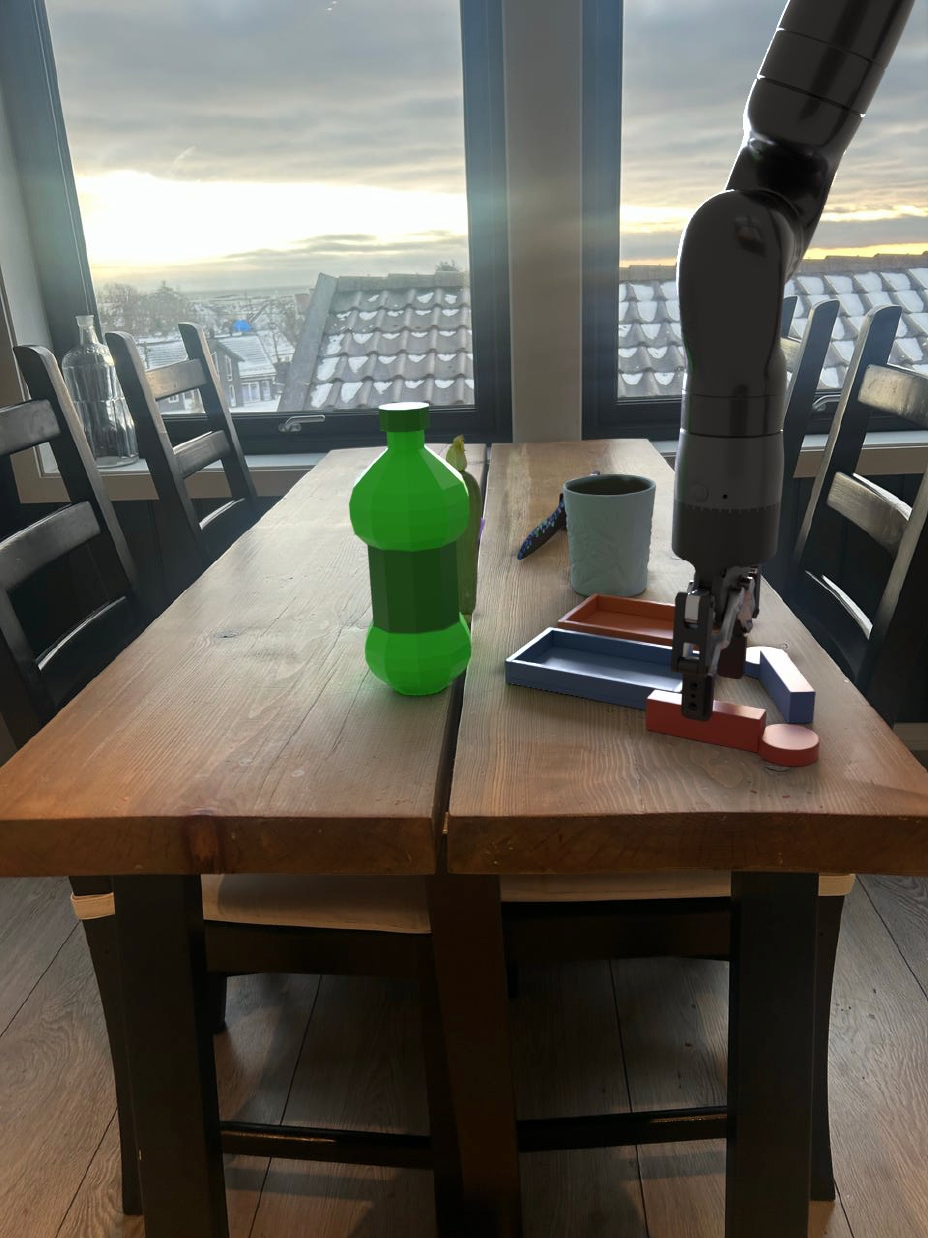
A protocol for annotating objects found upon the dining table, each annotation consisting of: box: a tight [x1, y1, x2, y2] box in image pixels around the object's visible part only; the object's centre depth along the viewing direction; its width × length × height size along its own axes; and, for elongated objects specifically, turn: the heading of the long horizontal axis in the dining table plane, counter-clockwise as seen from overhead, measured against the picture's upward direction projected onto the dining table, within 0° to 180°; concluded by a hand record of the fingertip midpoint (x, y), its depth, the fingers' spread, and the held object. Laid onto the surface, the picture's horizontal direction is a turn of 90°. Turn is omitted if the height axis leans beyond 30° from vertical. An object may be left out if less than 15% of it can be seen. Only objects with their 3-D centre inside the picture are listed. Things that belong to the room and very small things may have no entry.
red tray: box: [557, 593, 747, 651], centre depth 99 cm, size 16×9×2 cm, turn 60°
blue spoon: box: [744, 646, 817, 725], centre depth 86 cm, size 13×4×3 cm, turn 0°
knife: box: [516, 470, 601, 561], centre depth 136 cm, size 31×3×4 cm, turn 151°
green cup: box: [562, 473, 657, 598], centre depth 112 cm, size 10×10×12 cm
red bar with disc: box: [645, 690, 821, 767], centre depth 78 cm, size 13×4×3 cm, turn 60°
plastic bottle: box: [348, 401, 472, 697], centre depth 87 cm, size 10×10×25 cm
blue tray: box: [504, 627, 699, 711], centre depth 90 cm, size 16×9×2 cm, turn 60°
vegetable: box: [445, 434, 483, 625], centre depth 101 cm, size 4×4×20 cm
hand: (713, 696), depth 78 cm, fingers open, 8 cm apart
